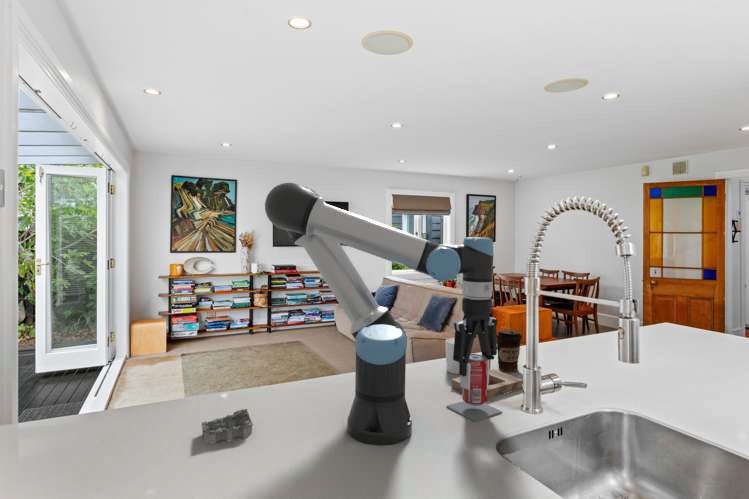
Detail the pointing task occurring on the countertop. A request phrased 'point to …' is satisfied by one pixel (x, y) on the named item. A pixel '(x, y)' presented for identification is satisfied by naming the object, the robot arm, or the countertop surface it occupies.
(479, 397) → the soda can
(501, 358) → the coffee cup
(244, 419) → the egg carton
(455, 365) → the white cup
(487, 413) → the grey rubber mat
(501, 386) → the walnut holder
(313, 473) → the countertop surface
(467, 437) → the countertop surface
